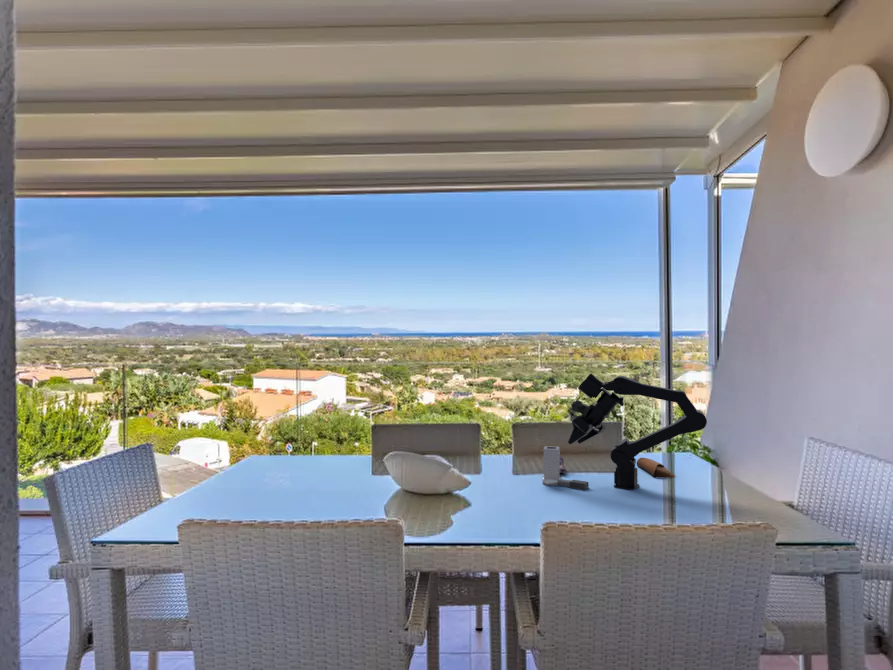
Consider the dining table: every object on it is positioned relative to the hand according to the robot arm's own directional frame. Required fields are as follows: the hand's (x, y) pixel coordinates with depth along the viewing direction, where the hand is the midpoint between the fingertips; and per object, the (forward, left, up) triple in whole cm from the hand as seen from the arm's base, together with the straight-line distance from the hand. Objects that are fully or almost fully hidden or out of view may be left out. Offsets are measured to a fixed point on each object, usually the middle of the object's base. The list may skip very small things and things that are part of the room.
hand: (573, 443), depth 203 cm
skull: (+12, -10, -14) cm, 21 cm away
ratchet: (+1, +5, -13) cm, 14 cm away
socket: (+6, +5, -11) cm, 14 cm away
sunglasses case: (-18, -31, -14) cm, 38 cm away
